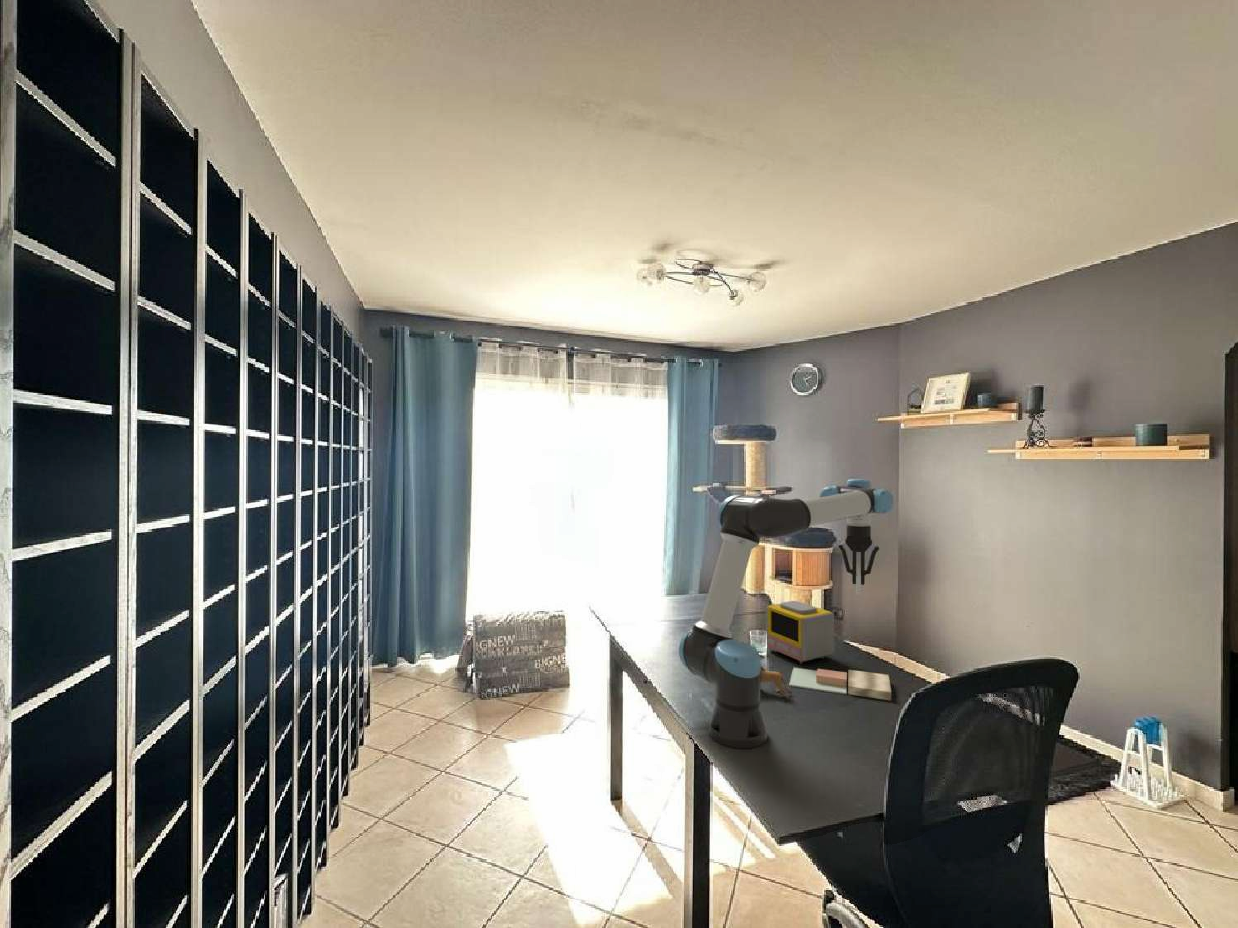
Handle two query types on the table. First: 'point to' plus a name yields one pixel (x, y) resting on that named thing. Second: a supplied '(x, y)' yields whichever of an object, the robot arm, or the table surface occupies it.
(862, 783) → the table surface
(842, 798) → the table surface
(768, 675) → the lion figurine
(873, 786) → the table surface
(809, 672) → the mat
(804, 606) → the alarm clock
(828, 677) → the block
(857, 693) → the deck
